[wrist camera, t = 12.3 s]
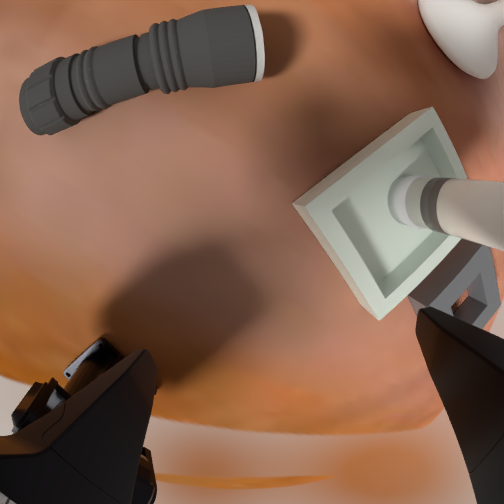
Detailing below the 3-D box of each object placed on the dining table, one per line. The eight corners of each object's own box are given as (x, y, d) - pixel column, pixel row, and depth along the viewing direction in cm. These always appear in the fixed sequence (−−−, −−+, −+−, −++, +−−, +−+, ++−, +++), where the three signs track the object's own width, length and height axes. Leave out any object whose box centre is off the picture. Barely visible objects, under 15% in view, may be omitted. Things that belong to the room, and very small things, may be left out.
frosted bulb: (410, 234, 20) (551, 284, 7) (379, 206, 19) (536, 243, 7) (431, 194, 19) (570, 217, 7) (401, 165, 19) (554, 167, 6)
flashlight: (53, 146, 16) (11, 138, 11) (50, 84, 15) (13, 64, 10) (256, 91, 18) (270, 60, 12) (243, 30, 16) (251, -11, 11)
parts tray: (361, 305, 22) (379, 320, 19) (291, 203, 19) (304, 206, 16) (458, 210, 21) (480, 215, 18) (410, 112, 19) (432, 106, 16)
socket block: (432, 352, 25) (448, 365, 22) (406, 294, 22) (427, 307, 19) (483, 295, 24) (500, 304, 21) (465, 232, 22) (487, 238, 19)
